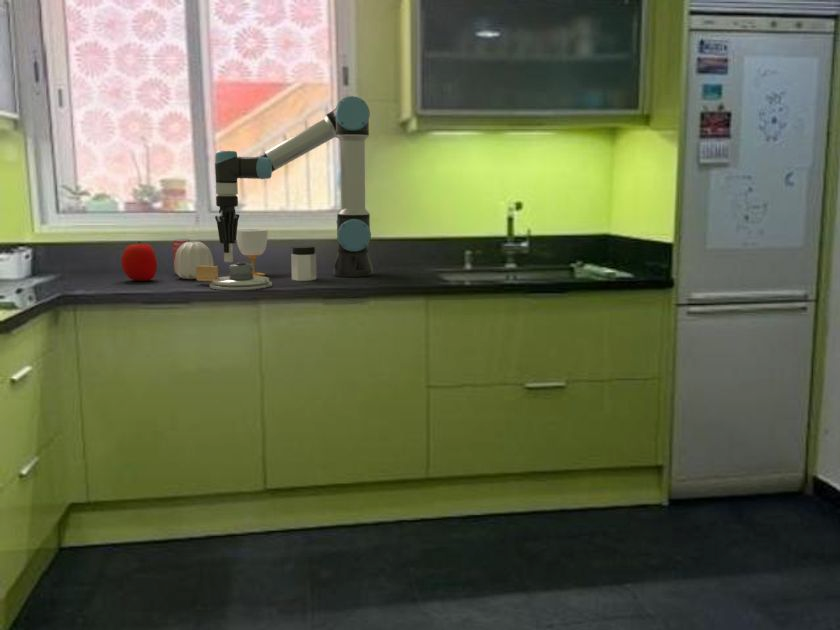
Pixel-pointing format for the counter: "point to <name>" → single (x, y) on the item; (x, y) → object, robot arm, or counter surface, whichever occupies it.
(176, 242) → the soda can
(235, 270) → the grey stone pot
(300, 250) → the jar
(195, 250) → the vase
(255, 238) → the cup
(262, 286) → the base
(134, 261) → the tomato
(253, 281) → the turntable
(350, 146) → the robot arm
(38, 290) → the counter surface
